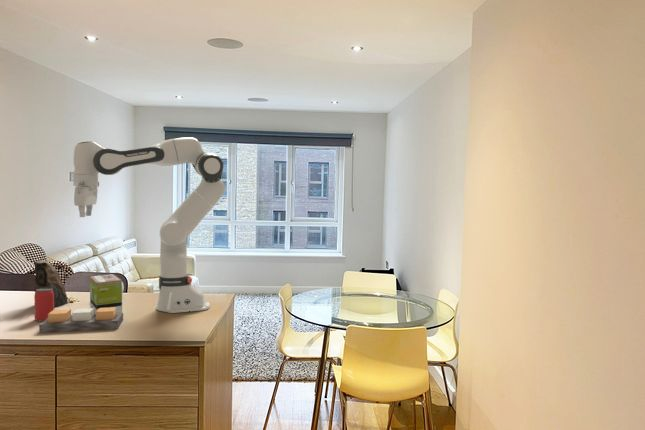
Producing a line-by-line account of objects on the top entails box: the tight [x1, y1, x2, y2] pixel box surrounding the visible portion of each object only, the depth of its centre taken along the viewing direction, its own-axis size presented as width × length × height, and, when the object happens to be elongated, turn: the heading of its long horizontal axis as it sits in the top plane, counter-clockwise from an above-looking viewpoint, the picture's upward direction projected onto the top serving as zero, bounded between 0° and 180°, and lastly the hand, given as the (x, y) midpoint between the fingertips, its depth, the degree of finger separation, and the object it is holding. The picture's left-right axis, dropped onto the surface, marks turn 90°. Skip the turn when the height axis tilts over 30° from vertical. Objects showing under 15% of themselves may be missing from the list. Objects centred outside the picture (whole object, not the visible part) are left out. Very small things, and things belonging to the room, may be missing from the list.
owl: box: [33, 259, 69, 309], centre depth 204 cm, size 13×13×20 cm
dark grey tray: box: [38, 312, 124, 334], centre depth 175 cm, size 26×12×3 cm, turn 104°
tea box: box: [89, 273, 123, 314], centre depth 195 cm, size 15×10×15 cm
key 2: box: [96, 307, 116, 320], centre depth 177 cm, size 6×6×3 cm
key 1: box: [48, 308, 72, 322], centre depth 173 cm, size 6×6×3 cm
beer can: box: [33, 288, 55, 322], centre depth 183 cm, size 7×7×12 cm
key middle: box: [71, 307, 94, 321], centre depth 175 cm, size 6×6×3 cm
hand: (85, 216), depth 187 cm, fingers open, 8 cm apart
